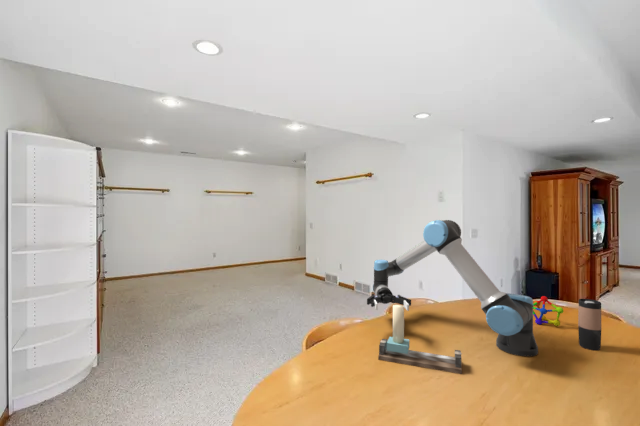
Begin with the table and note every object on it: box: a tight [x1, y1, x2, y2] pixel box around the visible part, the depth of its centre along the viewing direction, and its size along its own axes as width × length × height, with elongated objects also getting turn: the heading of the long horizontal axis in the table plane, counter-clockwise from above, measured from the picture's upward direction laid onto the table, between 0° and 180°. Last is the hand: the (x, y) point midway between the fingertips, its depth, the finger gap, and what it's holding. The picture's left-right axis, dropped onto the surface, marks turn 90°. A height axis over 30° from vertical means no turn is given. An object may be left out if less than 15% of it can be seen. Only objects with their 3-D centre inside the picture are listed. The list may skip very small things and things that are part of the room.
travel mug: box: [577, 298, 602, 352], centre depth 136 cm, size 8×8×20 cm
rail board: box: [377, 338, 463, 375], centre depth 123 cm, size 30×10×5 cm, turn 69°
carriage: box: [387, 304, 410, 354], centre depth 126 cm, size 8×7×17 cm
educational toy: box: [533, 295, 564, 327], centre depth 164 cm, size 16×13×15 cm
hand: (392, 307), depth 137 cm, fingers open, 13 cm apart
